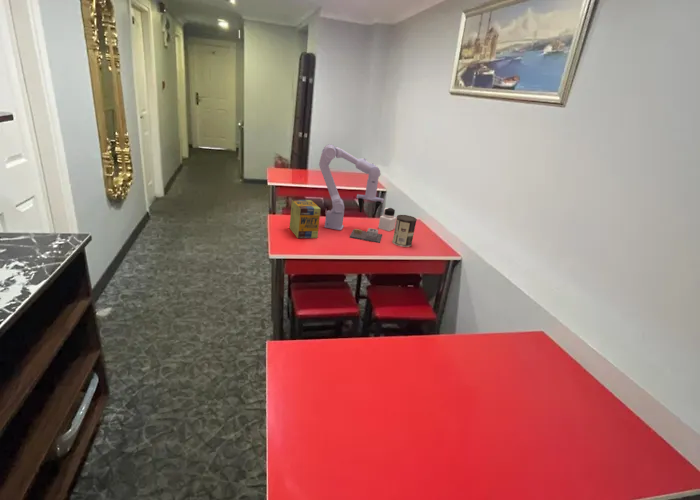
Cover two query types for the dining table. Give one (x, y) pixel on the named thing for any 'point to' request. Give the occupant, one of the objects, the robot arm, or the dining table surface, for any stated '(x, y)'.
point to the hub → (372, 233)
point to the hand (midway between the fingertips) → (367, 213)
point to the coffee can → (404, 230)
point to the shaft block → (364, 236)
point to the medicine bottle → (387, 220)
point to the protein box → (304, 218)
